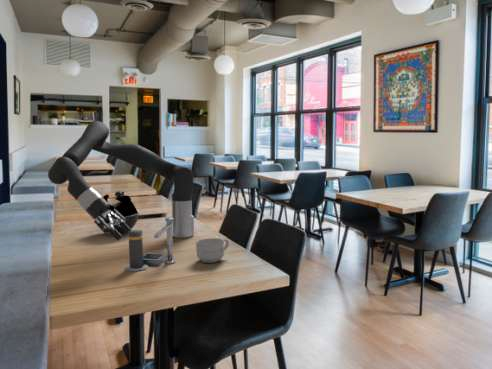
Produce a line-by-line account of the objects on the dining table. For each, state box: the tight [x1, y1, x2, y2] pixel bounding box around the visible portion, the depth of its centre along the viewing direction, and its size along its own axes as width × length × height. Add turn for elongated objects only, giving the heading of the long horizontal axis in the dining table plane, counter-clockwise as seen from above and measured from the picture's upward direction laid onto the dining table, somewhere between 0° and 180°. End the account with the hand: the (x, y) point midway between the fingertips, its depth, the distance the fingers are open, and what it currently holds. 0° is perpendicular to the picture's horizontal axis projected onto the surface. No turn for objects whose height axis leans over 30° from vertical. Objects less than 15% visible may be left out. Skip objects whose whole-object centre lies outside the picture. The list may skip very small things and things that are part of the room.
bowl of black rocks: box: [102, 194, 140, 235], centre depth 207 cm, size 20×20×19 cm
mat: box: [125, 264, 149, 272], centre depth 157 cm, size 8×8×1 cm
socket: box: [143, 252, 168, 267], centre depth 164 cm, size 9×9×2 cm
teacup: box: [195, 237, 230, 264], centre depth 166 cm, size 14×11×8 cm
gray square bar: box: [153, 217, 174, 239], centre depth 153 cm, size 20×3×3 cm, turn 176°
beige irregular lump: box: [111, 190, 125, 208], centre depth 234 cm, size 16×11×18 cm
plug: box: [127, 229, 144, 269], centre depth 156 cm, size 5×5×13 cm
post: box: [164, 221, 176, 265], centre depth 163 cm, size 4×4×16 cm
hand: (124, 235), depth 155 cm, fingers open, 8 cm apart
